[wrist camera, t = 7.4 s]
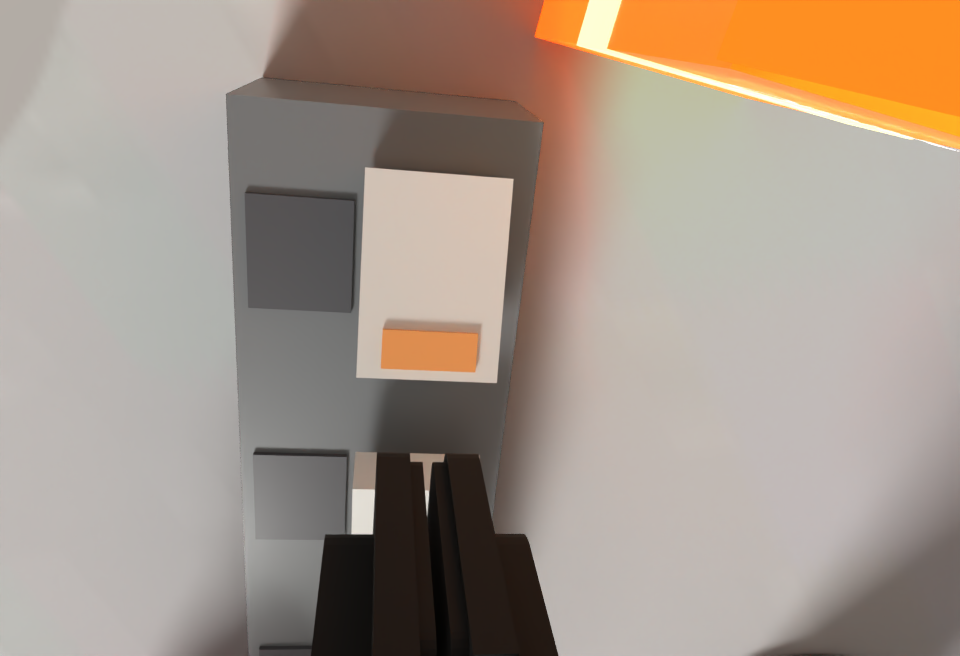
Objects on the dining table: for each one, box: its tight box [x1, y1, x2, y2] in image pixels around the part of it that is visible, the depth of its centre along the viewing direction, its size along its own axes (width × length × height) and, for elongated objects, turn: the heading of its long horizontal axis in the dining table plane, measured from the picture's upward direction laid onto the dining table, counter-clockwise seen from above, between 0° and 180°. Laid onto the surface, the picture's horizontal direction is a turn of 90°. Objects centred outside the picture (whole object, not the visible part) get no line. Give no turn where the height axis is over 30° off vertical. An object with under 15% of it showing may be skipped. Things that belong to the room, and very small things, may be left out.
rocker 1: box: [356, 167, 514, 383], centre depth 18 cm, size 4×5×2 cm
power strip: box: [226, 78, 544, 656], centre depth 26 cm, size 8×30×6 cm, turn 174°
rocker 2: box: [351, 452, 480, 534], centre depth 22 cm, size 4×5×2 cm
